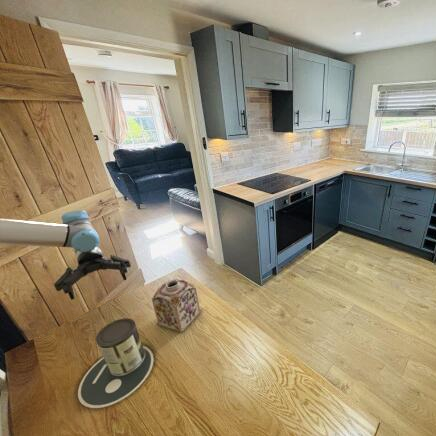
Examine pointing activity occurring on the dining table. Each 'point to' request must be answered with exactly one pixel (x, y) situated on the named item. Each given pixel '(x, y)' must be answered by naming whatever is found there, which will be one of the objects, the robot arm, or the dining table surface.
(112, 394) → the board
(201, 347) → the dining table surface
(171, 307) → the decorative jar
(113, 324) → the coffee can
